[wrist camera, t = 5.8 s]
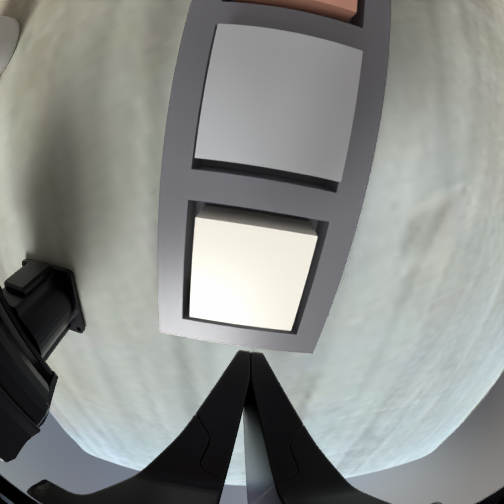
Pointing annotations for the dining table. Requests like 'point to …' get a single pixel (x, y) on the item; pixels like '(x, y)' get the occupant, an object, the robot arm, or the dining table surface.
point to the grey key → (279, 101)
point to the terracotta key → (315, 7)
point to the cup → (7, 39)
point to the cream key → (249, 267)
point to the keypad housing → (264, 172)
